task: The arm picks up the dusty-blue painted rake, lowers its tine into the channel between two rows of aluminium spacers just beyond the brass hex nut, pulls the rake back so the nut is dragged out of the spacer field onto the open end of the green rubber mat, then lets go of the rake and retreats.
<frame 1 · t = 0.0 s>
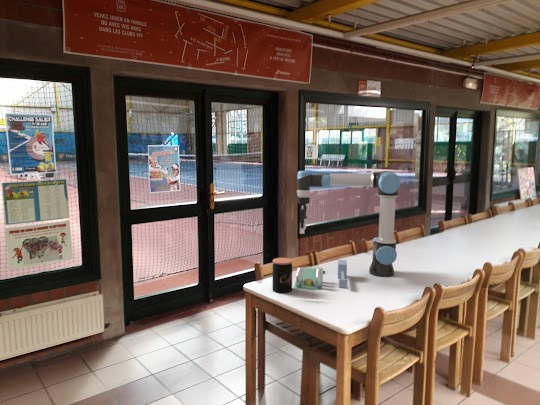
hand: (302, 231, 253), 28 cm above the table, fingers open, 13 cm apart
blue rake: (342, 279, 250), on the table
spacers: (308, 284, 237), resting on green mat
green mat: (309, 280, 248), on the table
coffee jar: (282, 292, 228), on the table
brass nut: (308, 285, 236), point 1 cm above the table, touching green mat
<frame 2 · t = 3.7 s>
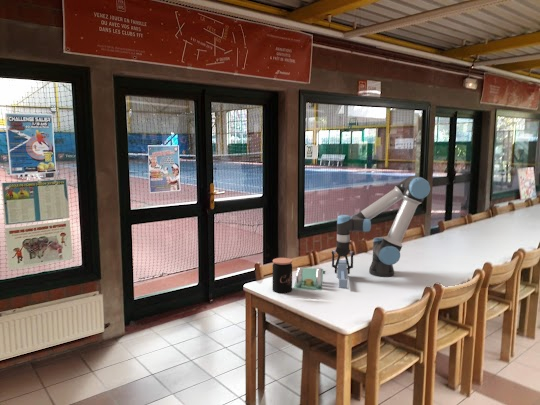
hand: (342, 278, 250), 0 cm above the table, fingers closed on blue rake, 5 cm apart
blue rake: (342, 279, 250), on the table, touching gripper
everything else where it was.
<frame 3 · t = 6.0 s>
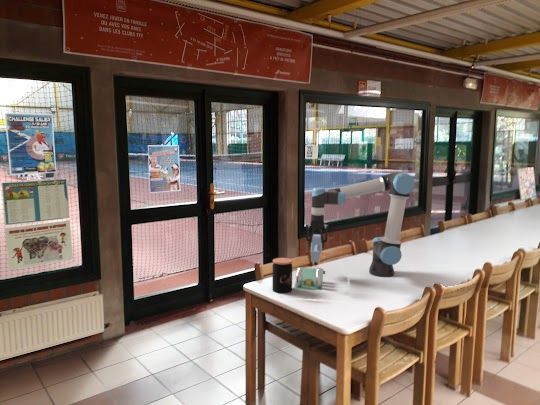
hand: (316, 252, 247), 17 cm above the table, fingers closed on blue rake, 5 cm apart
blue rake: (316, 253, 247), point 16 cm above the table, touching gripper
everything else where it was.
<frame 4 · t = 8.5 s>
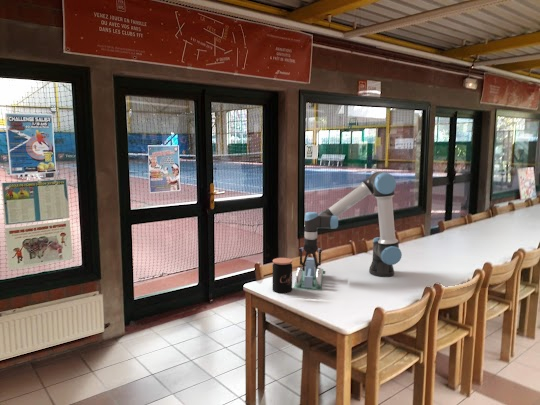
hand: (310, 276, 248), 2 cm above the table, fingers closed on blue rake, 5 cm apart
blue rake: (310, 276, 248), point 2 cm above the table, touching gripper
everything else where it was.
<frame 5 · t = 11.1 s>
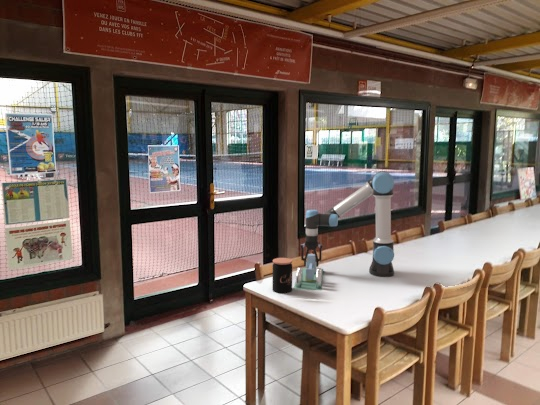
hand: (311, 271, 259), 2 cm above the table, fingers closed on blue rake, 5 cm apart
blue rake: (311, 271, 259), point 2 cm above the table, touching brass nut, gripper
brass nut: (309, 280, 243), point 1 cm above the table, touching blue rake
everything else where it was.
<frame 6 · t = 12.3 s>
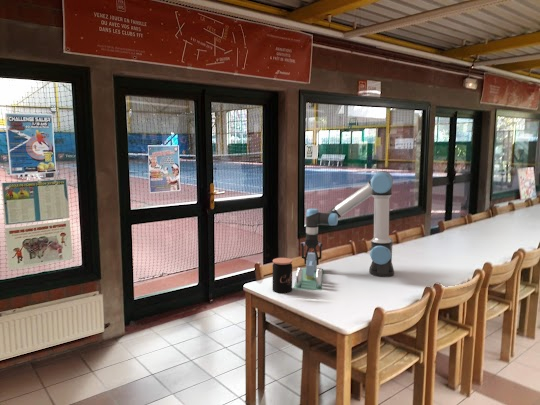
hand: (311, 269, 263), 2 cm above the table, fingers closed on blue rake, 5 cm apart
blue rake: (311, 269, 262), point 2 cm above the table, tilted 7°, touching brass nut, gripper
brass nut: (309, 278, 247), point 1 cm above the table, touching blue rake, green mat
everything else where it was.
when the fingers open (2 cm above the table, at t = 13.4 s): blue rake stays where it is, resting on green mat.
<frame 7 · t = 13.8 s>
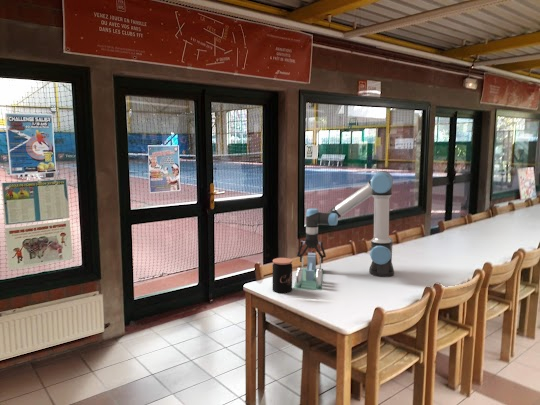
hand: (311, 267, 263), 3 cm above the table, fingers open, 10 cm apart
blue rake: (311, 271, 263), point 1 cm above the table, touching green mat
brass nut: (309, 278, 247), point 1 cm above the table, touching green mat
everything else where it was.
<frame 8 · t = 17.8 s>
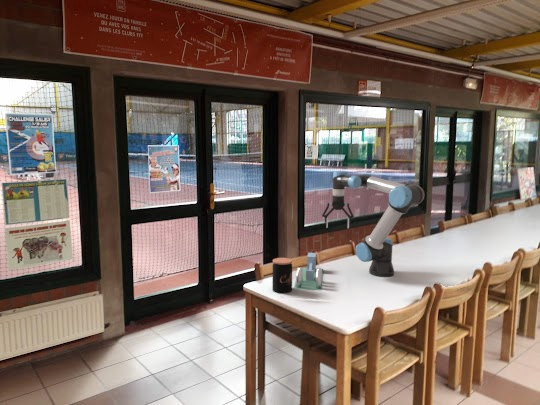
hand: (337, 227, 271), 27 cm above the table, fingers open, 13 cm apart
nothing on the table moved.
at the end: brass nut inside the target area (3.5 cm from its centre), point 1.2 cm above the table; brass nut touching green mat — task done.
